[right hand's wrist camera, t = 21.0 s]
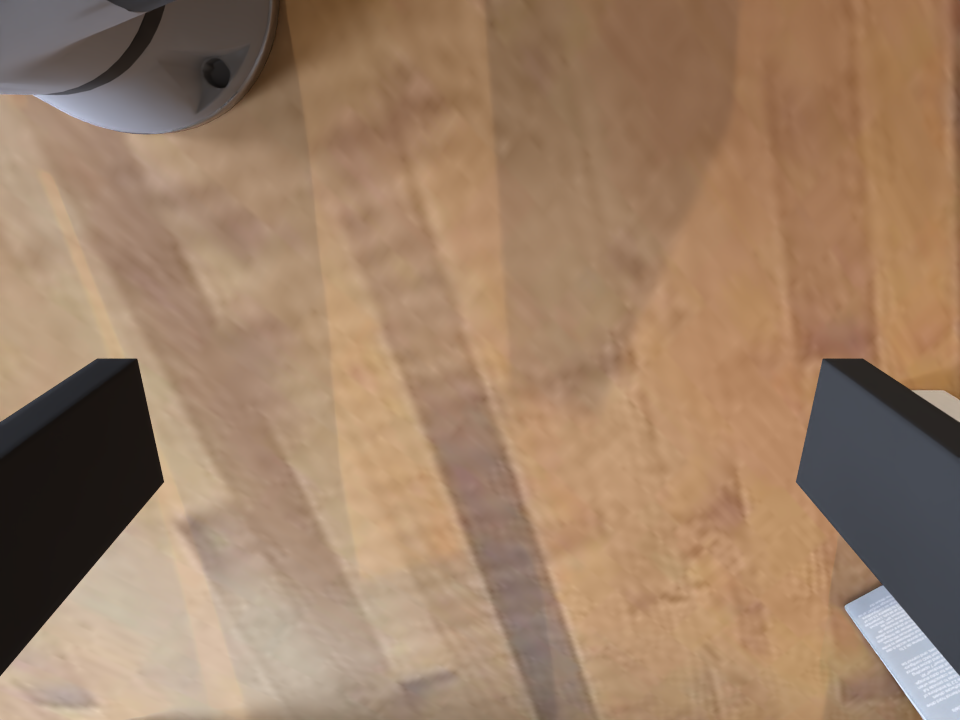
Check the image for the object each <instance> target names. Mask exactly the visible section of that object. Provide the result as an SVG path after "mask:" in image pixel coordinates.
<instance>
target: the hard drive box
mask: <svg viewBox="0 0 960 720" xmlns="http://www.w3.org/2000/svg"><path fill="white" fill-rule="evenodd" d="M845 609H846V611H847V612H848V614H849V615H850V617H851V618H852V620H853V621H854V623H855V624H856V625H857V627H858V628H859V630H860V631H861V632H862V634H863V635H864V636H865V638H866V639H867V641H868V642H869V643H870V645H871V646H872V647H873V649H874V650H875V652H876V653H877V654H878V656H879V657H880V659H881V660H882V661H883V663H884V664H885V666H886V667H887V669H888V670H889V671H890V673H891V674H892V676H893V677H894V678H895V680H896V681H897V683H898V684H899V686H900V687H901V688H902V690H903V691H904V693H905V694H906V696H907V697H908V698H909V700H910V701H911V703H912V704H913V706H914V707H915V708H916V710H917V711H918V713H919V714H920V716H921V717H922V718H923V720H960V676H959V675H958V673H957V672H956V671H955V670H954V669H953V668H952V666H951V665H950V664H949V663H948V662H947V660H946V659H945V658H944V657H943V656H942V654H941V653H940V652H939V651H938V650H937V649H936V647H935V646H934V645H933V644H932V643H931V641H930V640H929V639H928V638H927V637H926V636H925V634H924V633H923V632H922V631H921V630H920V628H919V627H918V626H917V625H916V624H915V622H914V621H913V620H912V619H911V618H910V617H909V615H908V614H907V613H906V612H905V611H904V609H903V608H902V607H901V606H900V605H899V604H898V602H897V601H896V600H895V599H894V598H893V596H892V595H891V594H890V593H889V592H888V590H887V589H886V588H885V587H884V586H883V585H882V586H880V587H878V588H876V589H875V590H873V591H871V592H869V593H867V594H865V595H863V596H861V597H860V598H858V599H856V600H854V601H852V602H850V603H848V604H847V605H846V606H845Z"/></svg>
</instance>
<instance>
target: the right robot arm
mask: <svg viewBox="0 0 960 720" xmlns="http://www.w3.org/2000/svg"><path fill="white" fill-rule="evenodd" d="M278 14H279V0H0V94H22V95H34V96H36V97H38V98H39V99H41V100H43V101H45V102H47V103H48V104H50V105H52V106H54V107H56V108H57V109H59V110H61V111H63V112H65V113H67V114H69V115H71V116H73V117H75V118H77V119H80V120H82V121H84V122H87V123H90V124H93V125H96V126H100V127H103V128H107V129H111V130H115V131H119V132H125V133H132V134H162V133H173V132H179V131H185V130H189V129H192V128H196V127H199V126H201V125H204V124H206V123H208V122H210V121H212V120H214V119H216V118H218V117H220V116H221V115H223V114H224V113H225V112H227V111H228V110H230V109H231V108H232V107H233V106H234V105H235V104H237V103H238V102H239V101H240V100H241V99H242V98H243V97H244V95H245V94H246V93H247V92H248V91H249V90H250V88H251V87H252V86H253V84H254V83H255V81H256V80H257V78H258V77H259V75H260V73H261V71H262V69H263V68H264V66H265V63H266V61H267V59H268V56H269V54H270V51H271V48H272V45H273V41H274V37H275V33H276V28H277V22H278ZM163 483H164V480H163V475H162V470H161V466H160V461H159V457H158V452H157V447H156V443H155V438H154V434H153V429H152V424H151V420H150V415H149V411H148V406H147V401H146V397H145V392H144V388H143V383H142V379H141V374H140V369H139V365H138V360H137V359H96V360H94V361H93V362H91V363H90V364H88V365H87V366H85V367H84V368H82V369H81V370H79V371H78V372H76V373H75V374H73V375H72V376H70V377H68V378H67V379H65V380H64V381H62V382H61V383H59V384H58V385H56V386H55V387H53V388H52V389H50V390H49V391H47V392H46V393H44V394H43V395H41V396H40V397H38V398H36V399H35V400H33V401H32V402H30V403H29V404H27V405H26V406H24V407H23V408H21V409H20V410H18V411H17V412H15V413H14V414H12V415H11V416H9V417H7V418H6V419H4V420H3V421H1V422H0V676H1V675H2V673H3V672H4V671H5V670H6V669H7V668H8V666H9V665H10V664H11V663H12V662H13V660H14V659H15V658H16V657H17V656H18V654H19V653H20V652H21V651H22V650H23V649H24V647H25V646H26V645H27V644H28V643H29V641H30V640H31V639H32V638H33V637H34V636H35V634H36V633H37V632H38V631H39V630H40V628H41V627H42V626H43V625H44V624H45V622H46V621H47V620H48V619H49V618H50V617H51V615H52V614H53V613H54V612H55V611H56V609H57V608H58V607H59V606H60V605H61V604H62V602H63V601H64V600H65V599H66V598H67V596H68V595H69V594H70V593H71V592H72V590H73V589H74V588H75V587H76V586H77V585H78V583H79V582H80V581H81V580H82V579H83V577H84V576H85V575H86V574H87V573H88V572H89V570H90V569H91V568H92V567H93V566H94V564H95V563H96V562H97V561H98V560H99V558H100V557H101V556H102V555H103V554H104V553H105V551H106V550H107V549H108V548H109V547H110V545H111V544H112V543H113V542H114V541H115V540H116V538H117V537H118V536H119V535H120V534H121V532H122V531H123V530H124V529H125V528H126V526H127V525H128V524H129V523H130V522H131V521H132V519H133V518H134V517H135V516H136V515H137V513H138V512H139V511H140V510H141V509H142V508H143V506H144V505H145V504H146V503H147V502H148V500H149V499H150V498H151V497H152V496H153V494H154V493H155V492H156V491H157V490H158V489H159V487H160V486H161V485H162V484H163ZM796 483H797V484H798V485H799V486H800V487H801V489H802V490H803V491H804V492H805V493H806V494H807V496H808V497H809V498H810V499H811V500H812V502H813V503H814V504H815V505H816V506H817V508H818V509H819V510H820V511H821V512H822V513H823V515H824V516H825V517H826V518H827V519H828V521H829V522H830V523H831V524H832V525H833V526H834V528H835V529H836V530H837V531H838V532H839V534H840V535H841V536H842V537H843V538H844V540H845V541H846V542H847V543H848V544H849V545H850V547H851V548H852V549H853V550H854V551H855V553H856V554H857V555H858V556H859V557H860V558H861V560H862V561H863V562H864V563H865V564H866V566H867V567H868V568H869V569H870V570H871V572H872V573H873V574H874V575H875V576H876V577H877V579H878V580H879V581H880V582H881V583H882V585H883V586H884V587H885V588H886V589H887V590H888V592H889V593H890V594H891V595H892V596H893V598H894V599H895V600H896V601H897V602H898V604H899V605H900V606H901V607H902V608H903V609H904V611H905V612H906V613H907V614H908V615H909V617H910V618H911V619H912V620H913V621H914V622H915V624H916V625H917V626H918V627H919V628H920V630H921V631H922V632H923V633H924V634H925V636H926V637H927V638H928V639H929V640H930V641H931V643H932V644H933V645H934V646H935V647H936V649H937V650H938V651H939V652H940V653H941V654H942V656H943V657H944V658H945V659H946V660H947V662H948V663H949V664H950V665H951V666H952V668H953V669H954V670H955V671H956V672H957V673H958V675H959V676H960V422H959V421H957V420H956V419H954V418H952V417H951V416H949V415H948V414H946V413H945V412H943V411H942V410H940V409H939V408H937V407H936V406H934V405H933V404H931V403H930V402H928V401H927V400H925V399H924V398H922V397H920V396H919V395H917V394H916V393H914V392H913V391H911V390H910V389H908V388H907V387H905V386H904V385H902V384H901V383H899V382H898V381H896V380H895V379H893V378H892V377H890V376H888V375H887V374H885V373H884V372H882V371H881V370H879V369H878V368H876V367H875V366H873V365H872V364H870V363H869V362H867V361H866V360H864V359H823V360H822V365H821V369H820V374H819V379H818V383H817V388H816V392H815V397H814V401H813V406H812V411H811V415H810V420H809V424H808V429H807V434H806V438H805V443H804V447H803V452H802V457H801V461H800V466H799V470H798V475H797V480H796Z"/></svg>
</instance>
